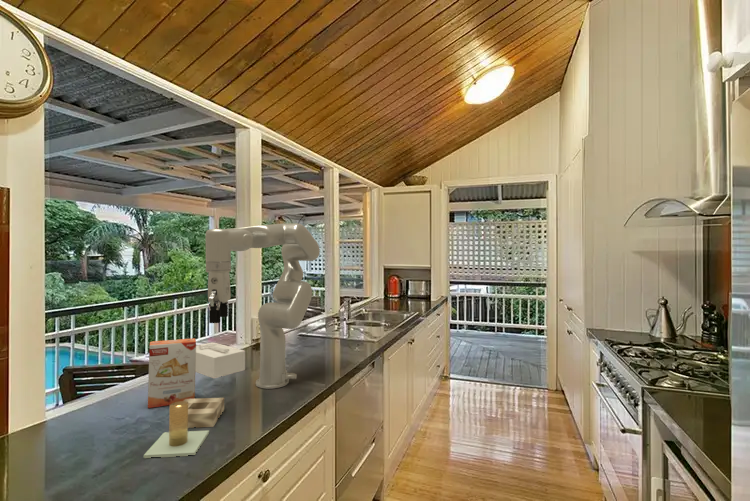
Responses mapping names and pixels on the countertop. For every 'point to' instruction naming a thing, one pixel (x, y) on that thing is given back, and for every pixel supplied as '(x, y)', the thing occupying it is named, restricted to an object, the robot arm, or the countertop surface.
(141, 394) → the countertop surface
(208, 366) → the tissue box
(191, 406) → the bored block
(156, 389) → the cracker box
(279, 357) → the robot arm
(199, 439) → the green mat
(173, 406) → the brass plug
